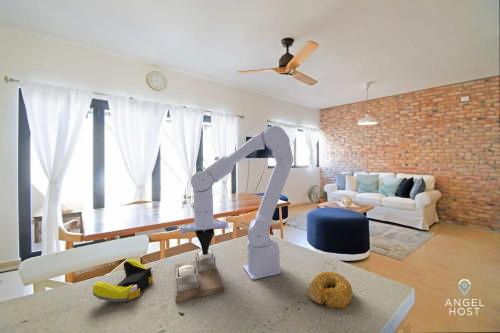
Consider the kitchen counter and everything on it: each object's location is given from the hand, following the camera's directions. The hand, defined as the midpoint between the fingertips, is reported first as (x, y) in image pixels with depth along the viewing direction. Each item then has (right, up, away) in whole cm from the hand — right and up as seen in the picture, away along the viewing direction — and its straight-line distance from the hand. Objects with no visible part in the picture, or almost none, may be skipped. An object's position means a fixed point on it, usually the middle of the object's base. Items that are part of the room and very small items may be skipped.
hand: (205, 253), depth 68 cm
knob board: (-1, -6, -5) cm, 7 cm away
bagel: (+34, -6, -13) cm, 37 cm away
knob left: (-3, -4, -9) cm, 11 cm away
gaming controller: (-19, -7, -9) cm, 22 cm away
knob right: (0, -4, 0) cm, 4 cm away
